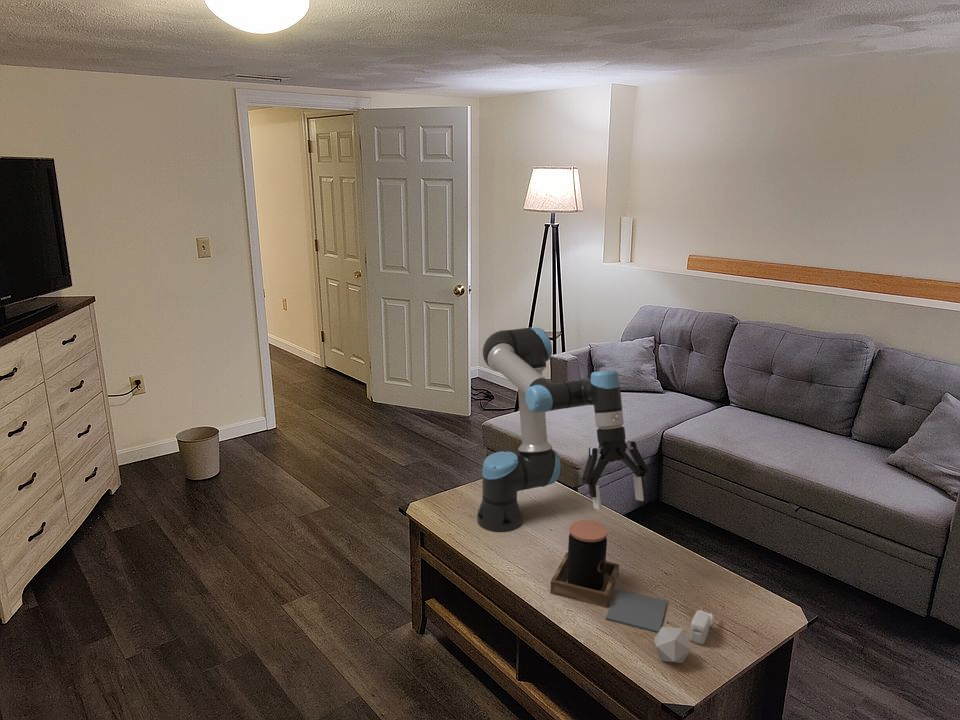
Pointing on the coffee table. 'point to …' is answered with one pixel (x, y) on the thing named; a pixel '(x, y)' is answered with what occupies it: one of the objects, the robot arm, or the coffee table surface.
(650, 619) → the rubber mat
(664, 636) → the die
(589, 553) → the coffee jar
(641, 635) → the coffee table surface
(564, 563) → the walnut crate
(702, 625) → the power adapter
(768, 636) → the coffee table surface
